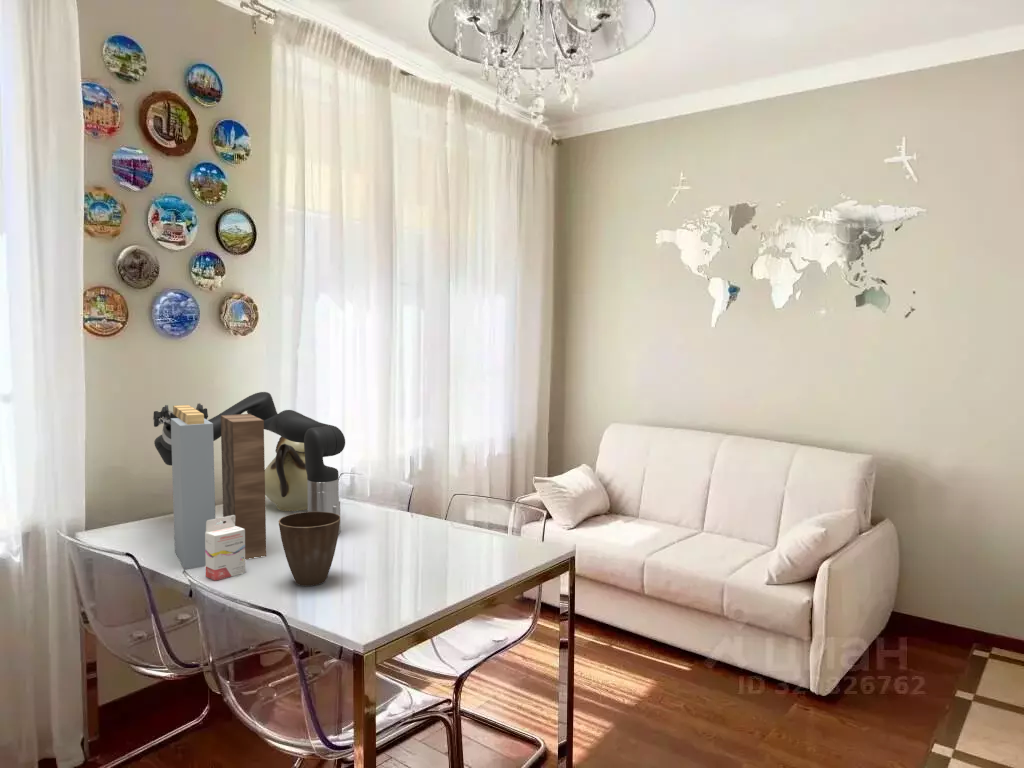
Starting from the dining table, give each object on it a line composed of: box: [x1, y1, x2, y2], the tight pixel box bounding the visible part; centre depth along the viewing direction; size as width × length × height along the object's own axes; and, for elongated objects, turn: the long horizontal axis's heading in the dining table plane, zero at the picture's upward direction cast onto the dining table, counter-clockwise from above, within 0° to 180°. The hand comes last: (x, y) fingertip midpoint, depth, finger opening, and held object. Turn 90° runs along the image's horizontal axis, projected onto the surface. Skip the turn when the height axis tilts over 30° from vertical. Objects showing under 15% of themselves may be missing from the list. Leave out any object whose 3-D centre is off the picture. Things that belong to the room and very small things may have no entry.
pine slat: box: [172, 404, 204, 425], centre depth 201 cm, size 24×4×2 cm, turn 33°
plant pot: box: [278, 511, 341, 587], centre depth 183 cm, size 15×15×16 cm
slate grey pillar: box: [171, 418, 216, 570], centre depth 199 cm, size 16×8×38 cm, turn 33°
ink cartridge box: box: [205, 515, 246, 582], centre depth 187 cm, size 9×5×15 cm, turn 141°
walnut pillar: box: [220, 413, 267, 560], centre depth 206 cm, size 16×8×38 cm, turn 33°
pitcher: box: [265, 436, 308, 512], centre depth 254 cm, size 22×24×25 cm
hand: (183, 407), depth 207 cm, fingers open, 8 cm apart
